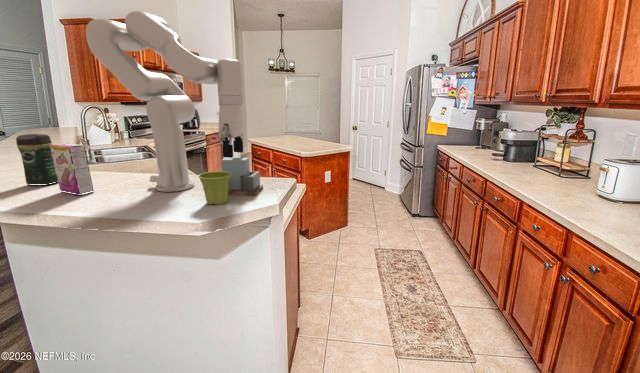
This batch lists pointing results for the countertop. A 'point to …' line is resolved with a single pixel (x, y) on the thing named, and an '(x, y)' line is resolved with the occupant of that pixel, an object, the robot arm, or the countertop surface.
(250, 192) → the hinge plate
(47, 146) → the coffee jar
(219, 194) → the plant pot
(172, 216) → the countertop surface
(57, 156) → the candy bar box
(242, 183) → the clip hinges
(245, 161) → the door panel
